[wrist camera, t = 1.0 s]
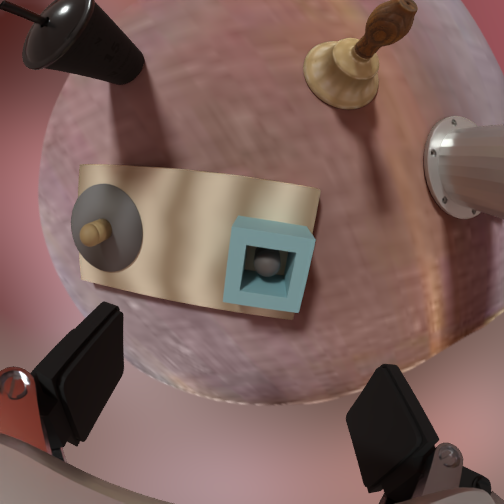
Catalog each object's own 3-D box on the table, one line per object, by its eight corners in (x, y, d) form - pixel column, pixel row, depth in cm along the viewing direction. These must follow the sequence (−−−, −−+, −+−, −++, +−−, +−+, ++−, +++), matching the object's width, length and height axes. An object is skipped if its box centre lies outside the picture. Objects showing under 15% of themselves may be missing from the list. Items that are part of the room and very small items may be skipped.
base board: (316, 188, 27) (330, 193, 21) (291, 311, 31) (296, 341, 25) (83, 164, 27) (51, 166, 21) (83, 272, 31) (57, 290, 25)
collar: (306, 226, 26) (315, 239, 21) (293, 288, 28) (298, 312, 23) (238, 215, 26) (231, 226, 21) (229, 279, 28) (222, 301, 23)
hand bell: (385, 108, 24) (481, 71, 8) (312, 112, 24) (365, 52, 9) (366, 43, 21) (434, -29, 6) (295, 44, 22) (318, -52, 7)
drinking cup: (91, 94, 24) (-41, 65, 5) (112, 40, 22) (3, -22, 3) (142, 98, 24) (2, 43, 5) (164, 40, 22) (65, -56, 3)
